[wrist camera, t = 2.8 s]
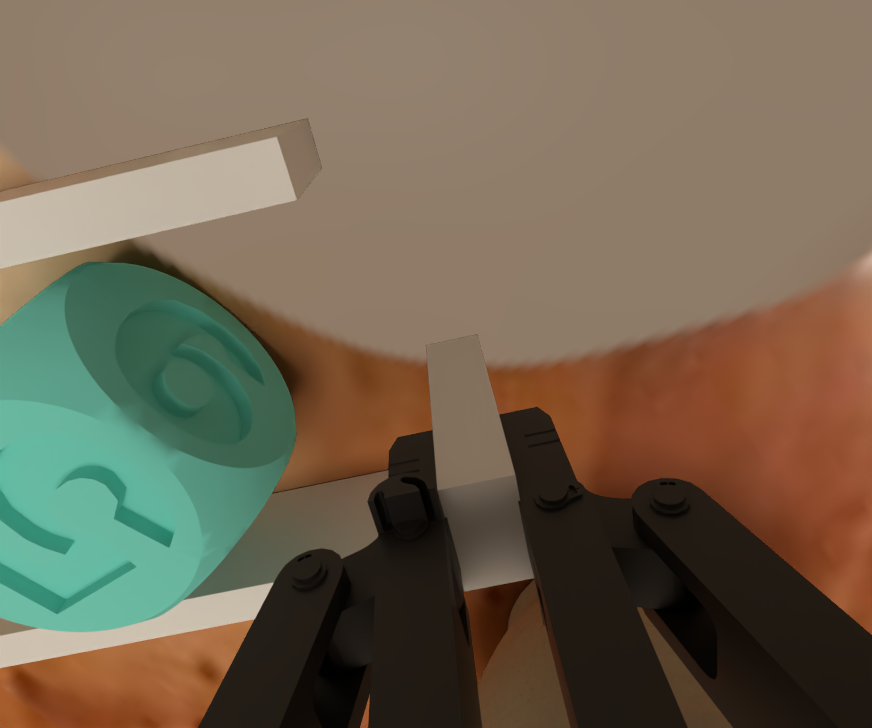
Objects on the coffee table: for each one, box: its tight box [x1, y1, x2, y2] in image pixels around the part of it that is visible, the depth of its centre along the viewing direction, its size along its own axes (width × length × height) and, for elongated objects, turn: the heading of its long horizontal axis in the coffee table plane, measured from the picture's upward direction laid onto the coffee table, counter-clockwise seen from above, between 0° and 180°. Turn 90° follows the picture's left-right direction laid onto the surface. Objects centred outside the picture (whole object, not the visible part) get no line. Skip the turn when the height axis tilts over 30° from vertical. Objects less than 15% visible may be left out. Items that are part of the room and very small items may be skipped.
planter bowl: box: [478, 579, 733, 728], centre depth 24 cm, size 16×16×11 cm
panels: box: [0, 119, 389, 668], centre depth 20 cm, size 16×15×5 cm
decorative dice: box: [0, 262, 297, 632], centre depth 19 cm, size 8×8×8 cm
